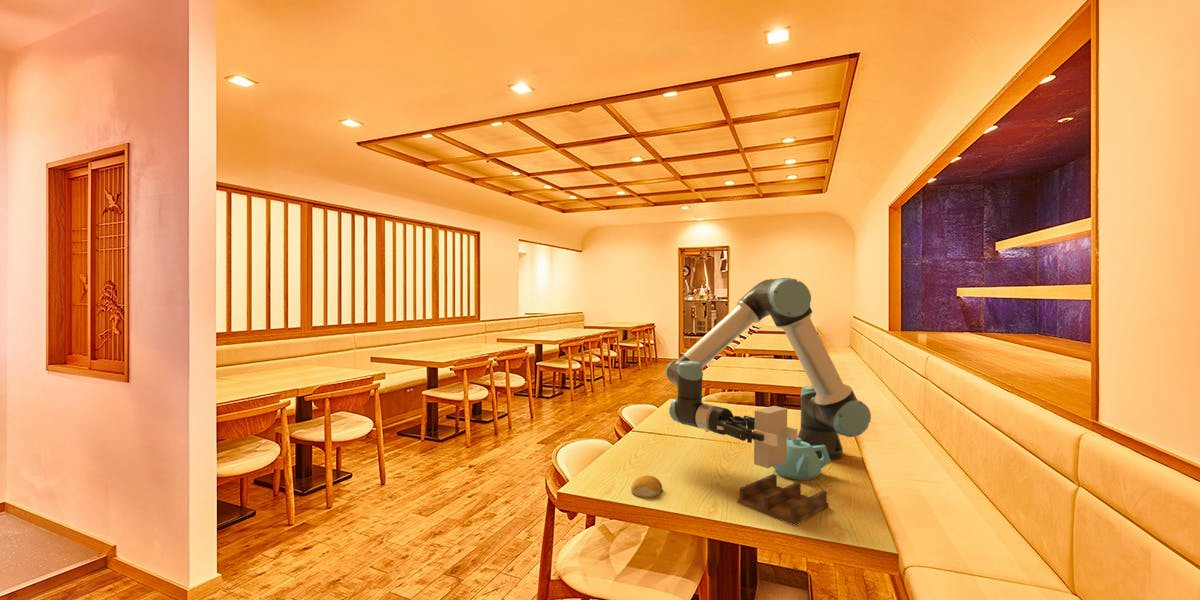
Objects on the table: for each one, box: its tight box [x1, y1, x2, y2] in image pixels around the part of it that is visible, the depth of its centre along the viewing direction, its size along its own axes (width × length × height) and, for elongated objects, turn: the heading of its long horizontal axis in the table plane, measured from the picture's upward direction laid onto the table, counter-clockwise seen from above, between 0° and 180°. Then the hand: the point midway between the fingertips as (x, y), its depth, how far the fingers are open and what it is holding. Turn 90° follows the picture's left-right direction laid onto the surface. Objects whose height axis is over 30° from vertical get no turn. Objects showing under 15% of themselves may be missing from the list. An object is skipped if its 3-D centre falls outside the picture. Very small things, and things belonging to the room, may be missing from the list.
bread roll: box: [630, 474, 663, 498], centre depth 132 cm, size 8×9×4 cm
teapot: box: [772, 437, 832, 481], centre depth 146 cm, size 15×15×11 cm
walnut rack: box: [737, 473, 829, 526], centre depth 124 cm, size 16×16×4 cm
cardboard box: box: [753, 405, 788, 469], centre depth 126 cm, size 9×4×14 cm, turn 129°
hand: (787, 437), depth 123 cm, fingers closed on cardboard box, 9 cm apart
